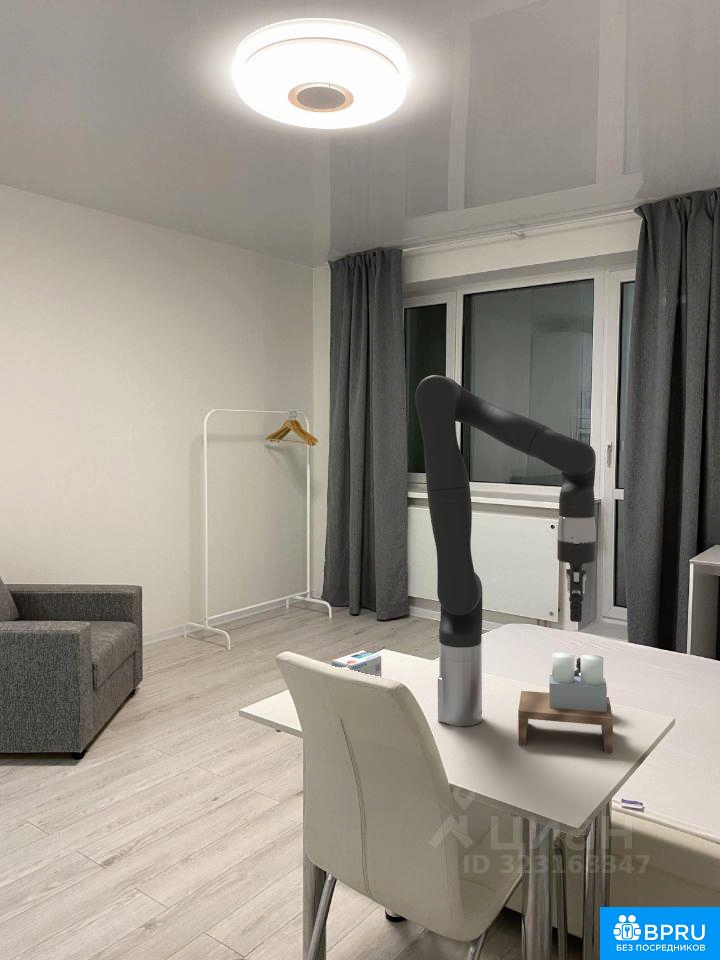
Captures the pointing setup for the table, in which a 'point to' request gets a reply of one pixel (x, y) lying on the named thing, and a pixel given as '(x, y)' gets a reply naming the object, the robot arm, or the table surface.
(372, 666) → the light bulb box
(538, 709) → the walnut shelf
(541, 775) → the table surface
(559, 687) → the salt and pepper set
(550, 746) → the table surface
